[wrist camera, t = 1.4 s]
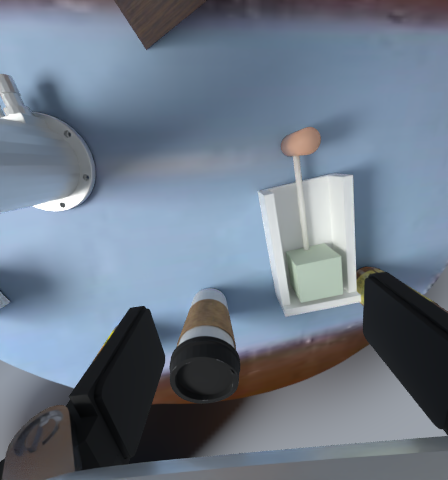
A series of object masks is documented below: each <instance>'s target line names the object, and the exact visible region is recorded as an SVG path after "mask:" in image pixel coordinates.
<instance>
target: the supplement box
mask: <svg viewBox="0 0 448 480" xmlns="http://www.w3.org/2000/svg"><path fill="white" fill-rule="evenodd" d="M9 303H10V301H9V300H8V299H7V298H6V297H5V296H4V295H3V294H2V293H1V292H0V309H1V308H2V307H4V306H6V305H7V304H9Z"/></svg>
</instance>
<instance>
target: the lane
mask: <svg viewBox="0 0 448 480" xmlns="http://www.w3.org/2000/svg"><path fill="white" fill-rule="evenodd" d="M302 185H303V195H304V204H305V213H306V222H307V232H308V241H309V247H310V246H314V245H319V244H323V243H324V244H326V245H327V246H328V247H330V248H331V249H332V250H334V251H335V252H336V253H338V254H339V255H340V256H341V262H342V280H343V294H342V295H337V296H332V297H327V298H322V299H317V300H312V301H307V302H302V303H301V302H300V300H299V298H298V296H297V295H296V293H295V291H294V290H293V288H292V286H291V284H290V278H289V271H288V264H287V257H286V251H291V250H296V249H300V248H304V247H303V239H302V230H301V222H300V213H299V204H298V196H297V187H296V182H293V183H289V184H285V185H281V186H276V187H272V188H268V189H264V190H259V191H258V196H259V202H260V208H261V213H262V219H263V225H264V230H265V236H266V242H267V247H268V253H269V259H270V264H271V270H272V276H273V281H274V287H275V293H276V296H277V298H278V301H279V303H280V305H281V308H282V310H283V312H284V315H285V317H288V316H293V315H298V314H303V313H308V312H313V311H318V310H323V309H328V308H333V307H338V306H343V305H348V304H353V303H358V302H361V295H360V294H359V293H358V292H357V285H356V254H355V223H354V192H353V175H348V174H336V173H332V174H328V175H323V176H319V177H315V178H310V179H306V180H302Z"/></svg>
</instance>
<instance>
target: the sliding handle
mask: <svg viewBox="0 0 448 480" xmlns="http://www.w3.org/2000/svg"><path fill="white" fill-rule="evenodd" d="M320 142H321V137H320V134H319V132H318V131H317V130H316V129H315V128H313V127H306V128H304V129H301V130H299V131H297V132H294V133H292V134H289V135H287V136H286V137H285V138H284V139H283V140H282V143H281V150H282V152H283V153H284V154H285V155H286V156H293V162H294V170H295V179H296V187H297V196H298V204H299V213H300V222H301V230H302V239H303V247H304V248H300V249H296V250H291V251H286V257H287V264H288V271H289V278H290V284H291V286H292V288H293V290H294V291H295V293H296V295H297V296H298V298H299V300H300V302H301V303H302V302H307V301H312V300H317V299H322V298H327V297H332V296H337V295H342V294H343V280H342V262H341V256H340V255H339V254H338V253H336V252H335V251H334V250H332V249H331V248H330V247H328V246H327V245H326V244H324V243H323V244H319V245H314V246H310V247H309V241H308V232H307V222H306V213H305V204H304V195H303V185H302V176H301V167H300V157H299V156H300V155H309V154H312V153H314V152H315V151H316V150H317V149H318V147H319V145H320Z"/></svg>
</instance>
